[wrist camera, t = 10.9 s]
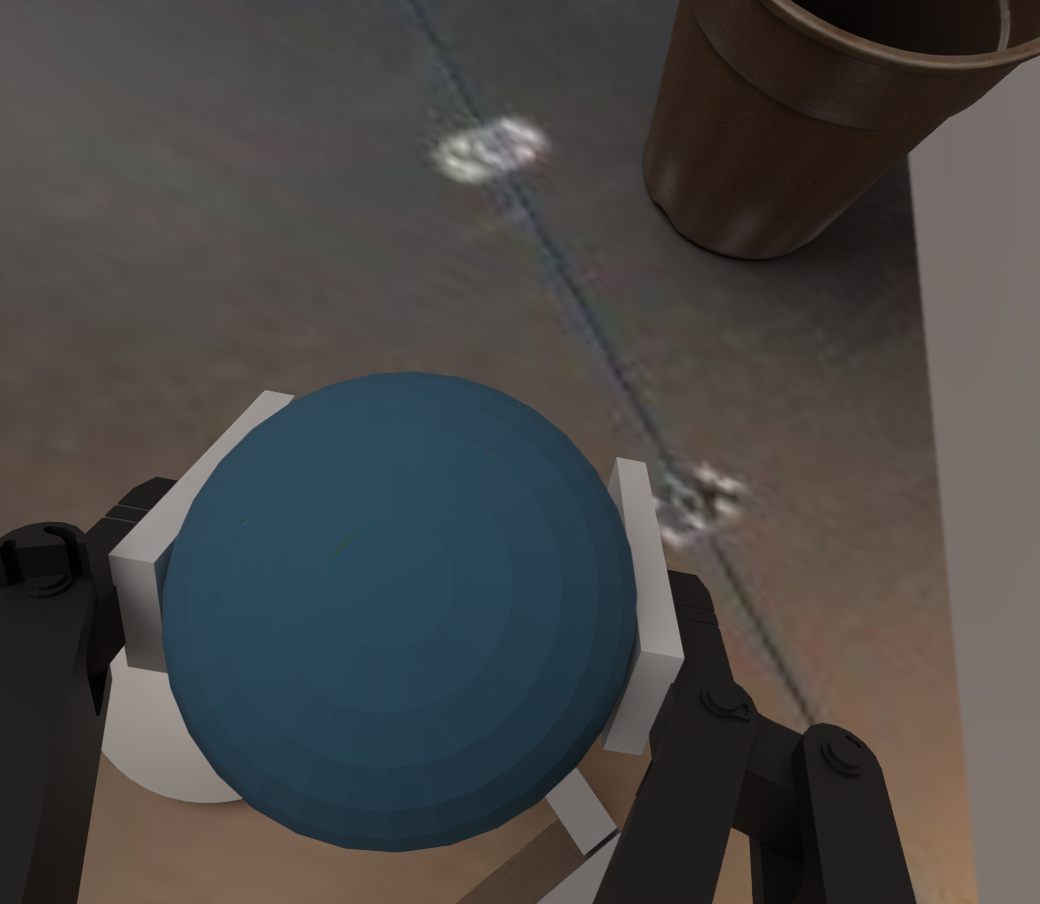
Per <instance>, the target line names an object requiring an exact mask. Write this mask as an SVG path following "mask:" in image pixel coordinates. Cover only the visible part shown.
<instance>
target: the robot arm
mask: <svg viewBox="0 0 1040 904" xmlns="http://www.w3.org/2000/svg"><path fill="white" fill-rule="evenodd" d="M293 401H295V396H293V395H288V394H283V393H277V392H272V391H267V390H265V391H264V392H263V393H262V394H261V395H260V396H259V397H258V398H257V399H256V400H255V401H254V402H253V403H252V405H251V406H250V407H249V408H248V409H247V410H246V411H245V412H244V413H243V414H242V415H241V416H240V417H239V418H238V419H237V420H236V421H235V422H234V423H233V424H232V425H231V427H230V428H229V429H228V430H227V431H226V432H225V433H224V434H223V435H222V436H221V437H220V438H219V439H218V440H217V441H216V442H215V443H214V444H213V445H212V446H211V447H210V449H209V450H208V451H207V452H206V453H205V454H204V455H203V456H202V457H201V458H200V459H199V460H198V461H197V462H196V463H195V464H194V465H193V466H192V467H191V468H190V469H189V471H188V472H187V473H186V474H185V475H184V476H183V477H182V478H181V479H180V480H179V481H176V480H171V479H165V478H160V477H155V478H153V479H151V480H149V481H147V482H145V483H143V484H141V485H139V486H137V487H135V488H133V489H132V490H131V491H130V492H129V493H128V494H127V495H126V496H125V497H124V498H123V499H122V500H120V501H119V502H118V505H117V506H114V507H113V508H112V509H111V510H110V511H109V512H108V513H107V514H106V515H105V518H102V519H101V520H100V521H98V522H97V523H96V524H95V525H94V526H93V527H92V528H91V529H90V530H89V531H88V532H87V533H86V534H84V533H83V532H82V531H81V530H80V529H79V528H78V527H77V526H74V525H70V524H67V523H64V522H43V523H37V524H30V525H27V526H24V527H21V528H18V529H16V530H13V531H11V532H9V533H7V534H6V535H4V536H3V537H1V538H0V904H77V900H78V894H79V887H80V881H81V875H82V868H83V862H84V856H85V849H86V843H87V837H88V830H89V824H90V818H91V812H92V805H93V799H94V793H95V786H96V780H97V774H98V767H99V761H100V755H101V748H102V742H103V736H104V730H105V723H106V717H107V711H108V704H109V698H110V692H111V685H112V673H111V667H110V663H111V662H112V661H113V659H114V658H115V657H116V656H117V654H118V653H119V652H120V650H121V649H122V648H123V646H124V648H125V654H126V659H127V665H128V667H133V668H138V669H144V670H150V671H156V672H162V673H167V667H166V661H165V656H164V650H163V644H162V609H163V589H164V584H165V580H166V576H167V571H168V567H169V563H170V558H171V554H172V550H173V545H174V542H175V540H176V538H177V535H178V533H179V531H180V529H181V526H182V524H183V522H184V520H185V517H186V515H187V513H188V511H189V508H190V506H191V504H192V502H193V499H194V498H195V497H196V495H197V494H198V492H199V491H200V489H201V488H202V486H203V485H204V484H205V482H206V481H207V479H208V478H209V476H210V475H211V473H212V472H213V470H214V469H215V468H216V466H217V465H218V463H219V462H220V461H221V460H222V459H223V458H224V457H225V456H226V455H227V454H228V453H229V452H230V451H231V450H232V449H233V448H234V447H235V446H236V445H237V444H238V443H239V442H240V441H241V440H242V439H243V438H244V437H245V436H246V435H247V434H248V433H249V432H250V431H251V430H252V429H253V428H254V427H256V426H257V425H259V424H260V423H262V422H263V421H264V420H266V419H267V418H269V417H270V416H272V415H273V414H275V413H276V412H277V411H279V410H280V409H282V408H283V407H285V406H286V405H288V404H289V403H291V402H293ZM607 491H608V492H609V494H610V496H611V498H612V499H613V501H614V503H615V505H616V507H617V509H618V512H619V515H620V518H621V521H622V524H623V526H624V529H625V532H626V535H627V538H628V541H629V544H630V547H631V552H632V559H633V566H634V573H635V580H636V587H637V609H636V628H635V640H634V645H633V649H632V653H631V657H630V662H629V666H628V670H627V674H626V678H625V682H624V685H623V688H622V690H621V692H620V694H619V696H618V699H617V701H616V703H615V705H614V707H613V709H612V712H611V714H610V716H609V718H608V720H607V723H606V725H605V727H604V729H603V730H602V742H603V749H604V750H610V751H616V752H621V753H627V754H633V755H638V756H642V753H643V751H644V749H645V747H646V744H647V742H648V740H649V739H650V747H651V755H652V760H651V762H650V764H649V766H648V769H647V771H646V773H645V775H644V777H643V780H642V782H641V784H640V786H639V788H638V790H637V793H636V795H635V796H636V798H635V800H634V803H633V805H632V808H631V810H630V812H629V815H628V817H627V820H626V822H625V825H624V827H623V830H622V832H621V835H620V837H619V840H618V842H617V844H616V847H615V849H614V852H613V854H612V857H611V859H610V862H609V864H608V867H607V869H606V871H605V874H604V876H603V879H602V881H601V884H600V886H599V889H598V891H597V894H596V896H595V898H594V901H593V903H592V904H712V901H713V897H714V893H715V889H716V885H717V881H718V877H719V873H720V869H721V865H722V861H723V857H724V853H725V849H726V845H727V841H728V837H729V833H730V829H731V827H732V828H734V829H736V830H738V831H740V832H742V833H744V834H746V835H748V836H749V841H750V859H751V878H752V896H753V904H917V903H916V900H915V896H914V892H913V888H912V884H911V880H910V876H909V873H908V869H907V865H906V861H905V857H904V853H903V849H902V846H901V842H900V838H899V834H898V830H897V826H896V822H895V819H894V815H893V811H892V807H891V803H890V799H889V795H888V792H887V788H886V784H885V780H884V776H883V772H882V769H881V767H880V765H879V763H878V760H877V758H876V756H875V755H874V754H873V752H872V751H871V750H870V749H869V748H868V747H867V745H866V744H865V743H864V742H863V741H861V740H860V739H859V738H857V737H856V736H855V735H853V734H852V733H851V732H849V731H847V730H845V729H842V728H840V727H838V726H836V725H831V724H825V723H820V724H816V725H811V726H810V727H809V728H808V729H807V731H806V732H805V733H804V734H803V735H802V734H800V733H797V732H795V731H793V730H791V729H789V728H786V727H784V726H782V725H780V724H778V723H775V722H773V721H771V720H770V719H768V718H766V717H764V716H762V715H761V714H760V713H758V712H757V709H756V707H755V704H754V702H753V700H752V698H751V697H750V696H749V695H748V694H747V692H746V691H745V690H744V689H743V688H742V687H741V686H739V685H738V684H736V683H735V682H734V680H733V676H732V672H731V669H730V665H729V662H728V658H727V654H726V651H725V647H724V643H723V640H722V636H721V632H720V629H718V621H717V618H716V614H714V611H715V610H714V607H713V603H712V599H711V596H710V592H709V591H708V590H707V588H706V587H705V586H704V584H703V583H702V582H701V581H700V579H699V578H698V577H697V575H693V574H687V573H682V572H677V571H671V570H667V568H666V563H665V558H664V553H663V548H662V543H661V538H660V533H659V528H658V523H657V518H656V513H655V508H654V503H653V498H652V493H651V488H650V483H649V478H648V473H647V468H646V463H644V462H639V461H634V460H628V459H623V458H618V457H617V458H616V462H615V465H614V468H613V472H612V475H611V478H610V482H609V485H608V488H607ZM167 674H168V673H167Z"/></svg>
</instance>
